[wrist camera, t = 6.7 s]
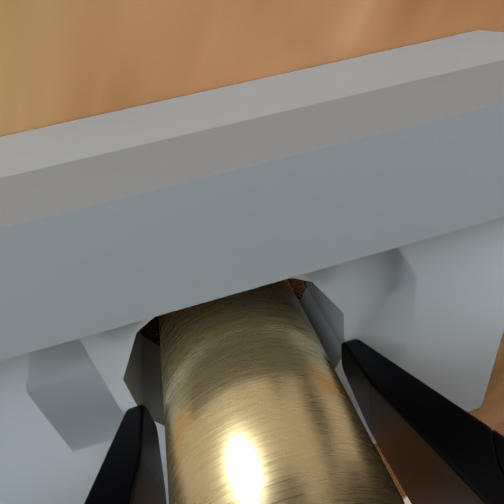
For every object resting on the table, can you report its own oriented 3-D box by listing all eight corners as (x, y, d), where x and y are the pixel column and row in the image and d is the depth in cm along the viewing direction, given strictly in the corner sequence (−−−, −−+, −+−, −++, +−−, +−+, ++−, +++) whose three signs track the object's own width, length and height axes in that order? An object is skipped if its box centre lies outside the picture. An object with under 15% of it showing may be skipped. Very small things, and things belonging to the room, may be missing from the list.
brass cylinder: (274, 219, 12) (446, 505, 5) (288, 316, 14) (419, 601, 7) (139, 254, 11) (138, 616, 5) (176, 349, 13) (210, 682, 7)
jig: (478, 29, 10) (713, 50, 6) (431, 347, 17) (526, 459, 13) (-207, 183, 8) (-547, 364, 4) (50, 469, 15) (17, 645, 11)
